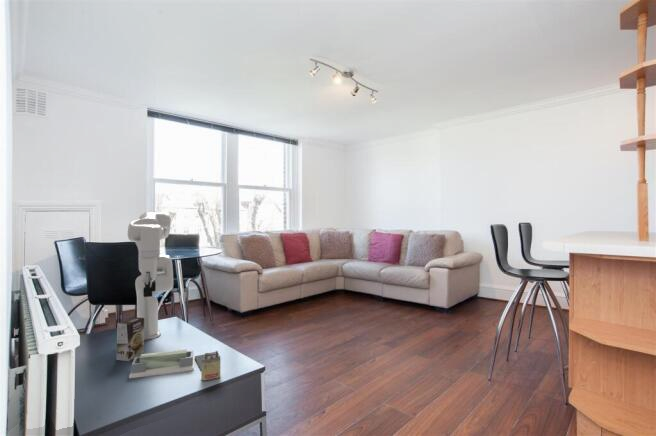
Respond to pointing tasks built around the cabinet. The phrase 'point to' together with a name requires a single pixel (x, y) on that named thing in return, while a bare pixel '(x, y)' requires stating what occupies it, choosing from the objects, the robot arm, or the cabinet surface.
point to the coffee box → (130, 338)
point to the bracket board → (141, 371)
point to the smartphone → (199, 361)
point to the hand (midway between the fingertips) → (149, 293)
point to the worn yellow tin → (210, 366)
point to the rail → (163, 359)
